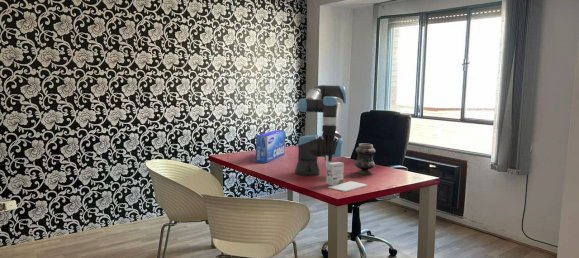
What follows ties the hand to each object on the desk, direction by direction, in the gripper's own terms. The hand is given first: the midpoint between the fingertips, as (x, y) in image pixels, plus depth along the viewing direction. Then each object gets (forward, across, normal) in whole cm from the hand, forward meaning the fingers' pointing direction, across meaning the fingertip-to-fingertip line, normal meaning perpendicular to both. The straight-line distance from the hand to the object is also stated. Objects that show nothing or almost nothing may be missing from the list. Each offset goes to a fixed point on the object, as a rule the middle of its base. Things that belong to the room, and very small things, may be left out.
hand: (327, 167), depth 243 cm
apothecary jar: (+9, -1, +36) cm, 37 cm away
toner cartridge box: (+8, -74, +25) cm, 79 cm away
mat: (+9, +14, +1) cm, 17 cm away
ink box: (+9, +5, 0) cm, 10 cm away
